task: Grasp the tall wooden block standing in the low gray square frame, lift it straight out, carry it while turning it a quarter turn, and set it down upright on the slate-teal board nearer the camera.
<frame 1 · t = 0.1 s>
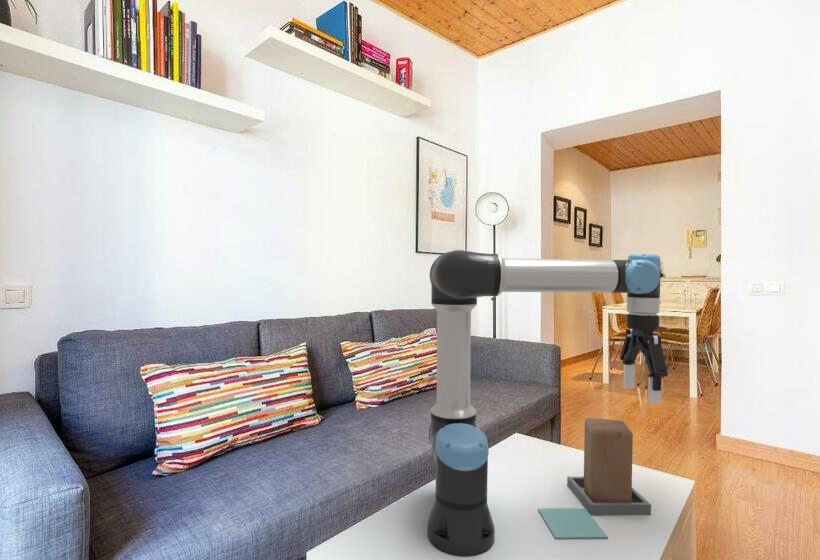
hand: (640, 395, 114), 28 cm above the table, fingers open, 13 cm apart
wooden block: (606, 500, 116), resting in gray square frame
board: (570, 523, 105), on the table
gray square frame: (606, 499, 116), on the table
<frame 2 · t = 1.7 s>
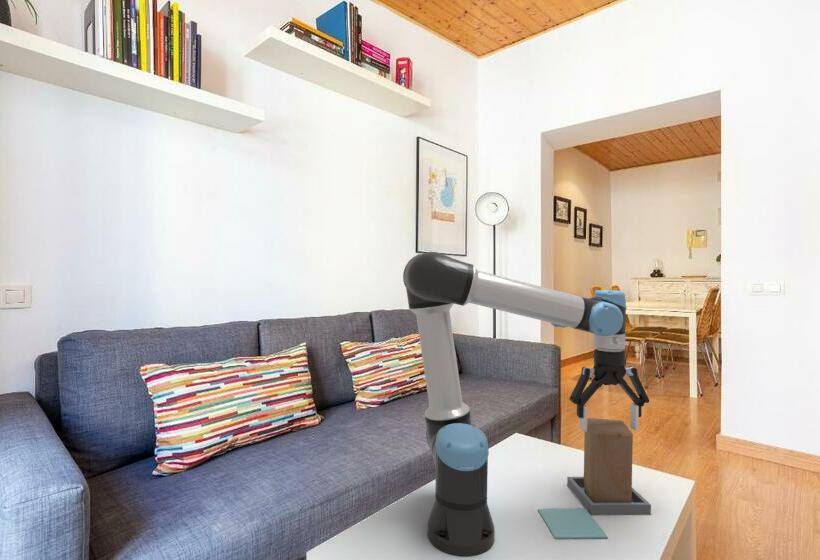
hand: (608, 429, 116), 19 cm above the table, fingers open, 13 cm apart
nothing on the table moved.
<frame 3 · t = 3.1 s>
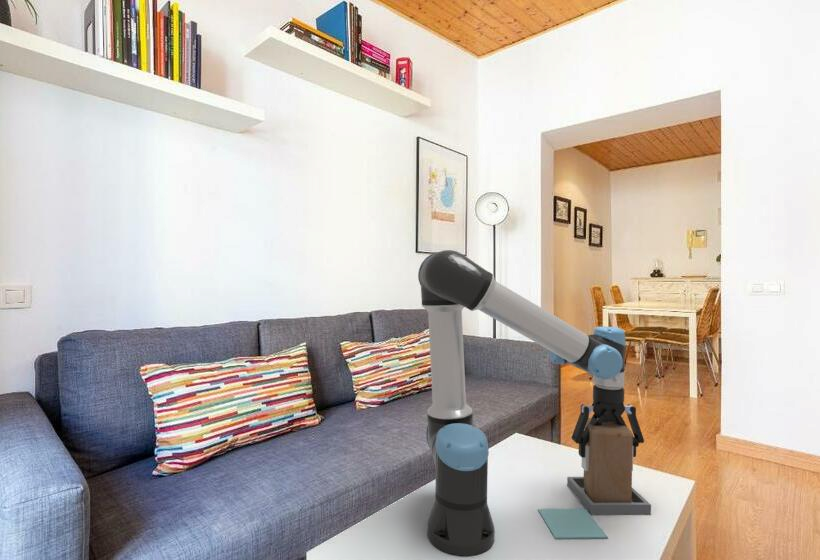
hand: (606, 468, 116), 8 cm above the table, fingers closed on wooden block, 11 cm apart
wooden block: (606, 499, 116), resting in gray square frame, touching gripper
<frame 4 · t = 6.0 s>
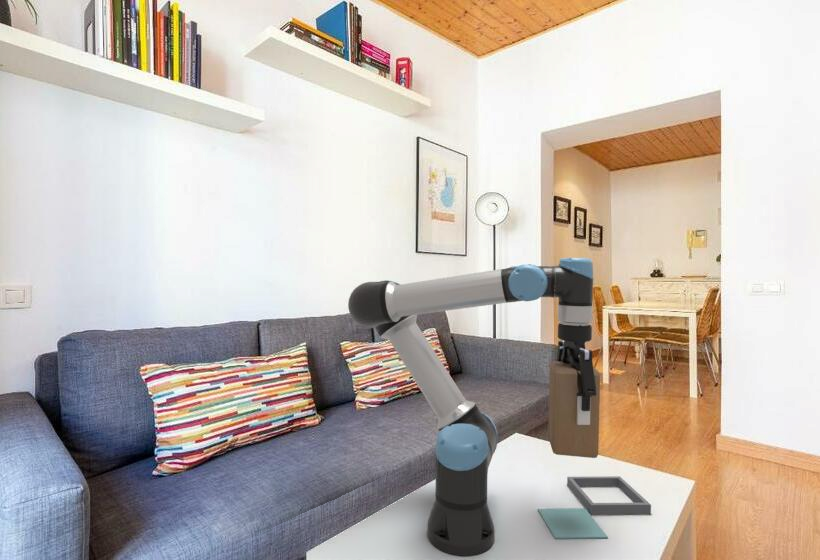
hand: (572, 415, 104), 26 cm above the table, fingers closed on wooden block, 11 cm apart
wooden block: (571, 450, 105), point 18 cm above the table, touching gripper
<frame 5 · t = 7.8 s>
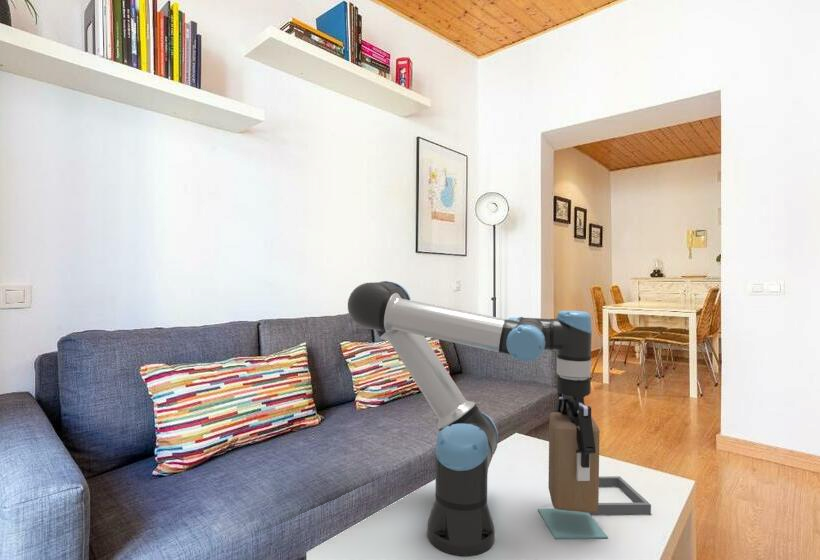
hand: (572, 468, 104), 13 cm above the table, fingers closed on wooden block, 11 cm apart
wooden block: (572, 502, 105), point 5 cm above the table, touching gripper
when the fingers open (9 cm above the table, at t = 9.2 s): wooden block stays where it is, resting on board.
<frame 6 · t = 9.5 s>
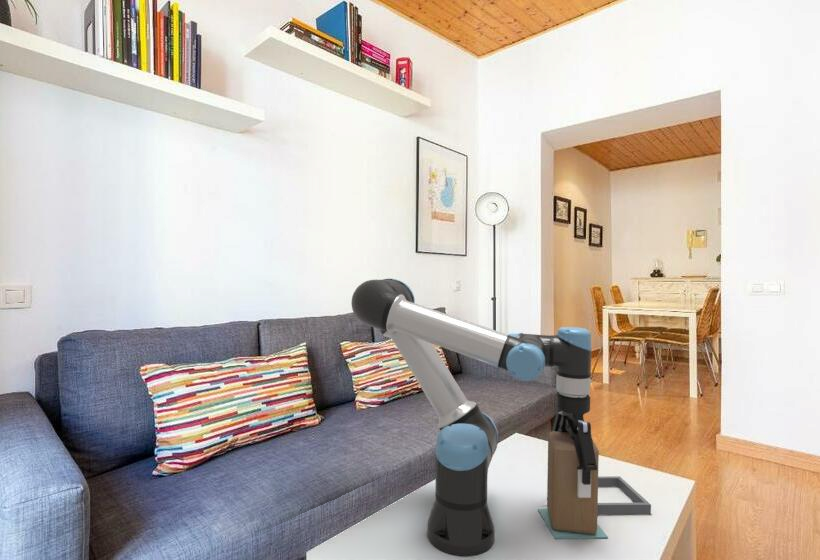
hand: (571, 482, 104), 10 cm above the table, fingers open, 13 cm apart
wooden block: (570, 522, 105), resting on board
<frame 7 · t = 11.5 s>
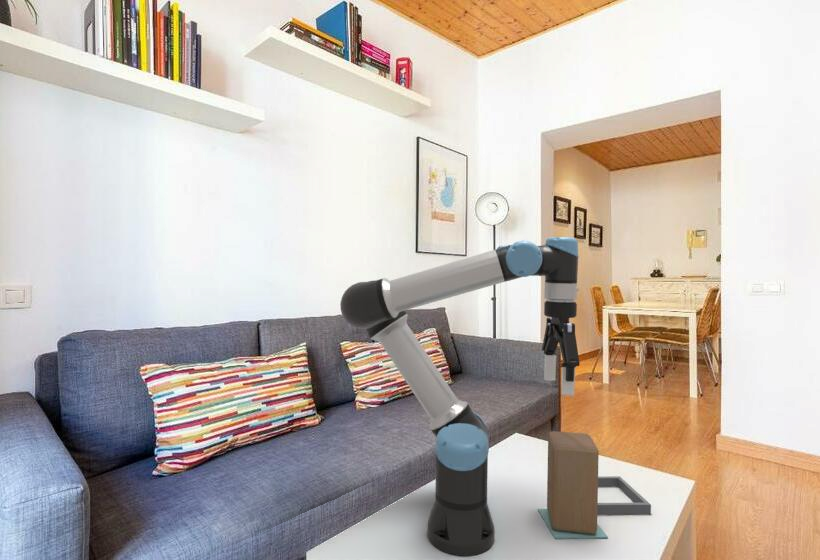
hand: (558, 387, 108), 32 cm above the table, fingers open, 13 cm apart
nothing on the table moved.
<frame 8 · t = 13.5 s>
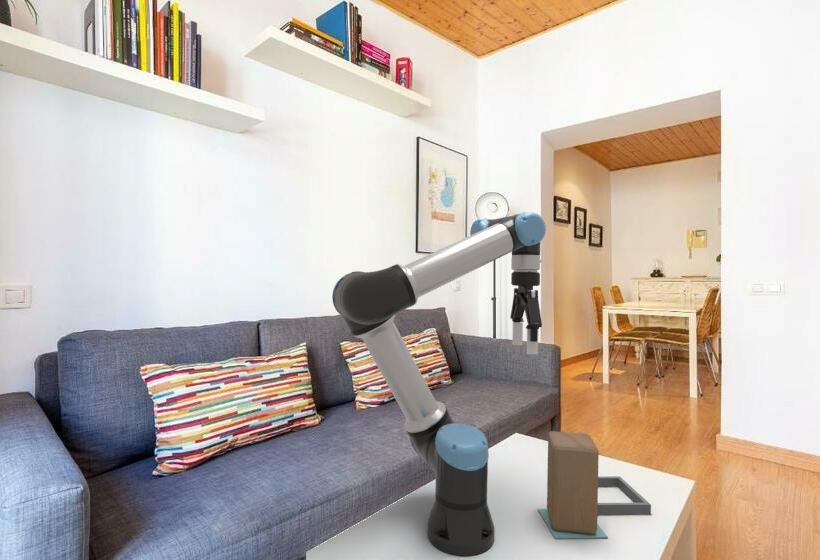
hand: (524, 349, 120), 39 cm above the table, fingers open, 13 cm apart
nothing on the table moved.
at the end: wooden block inside the target area on the board (0.0 cm from its centre), point 0.2 cm above the board's base; wooden block tilted 0°; the gripper is holding nothing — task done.
